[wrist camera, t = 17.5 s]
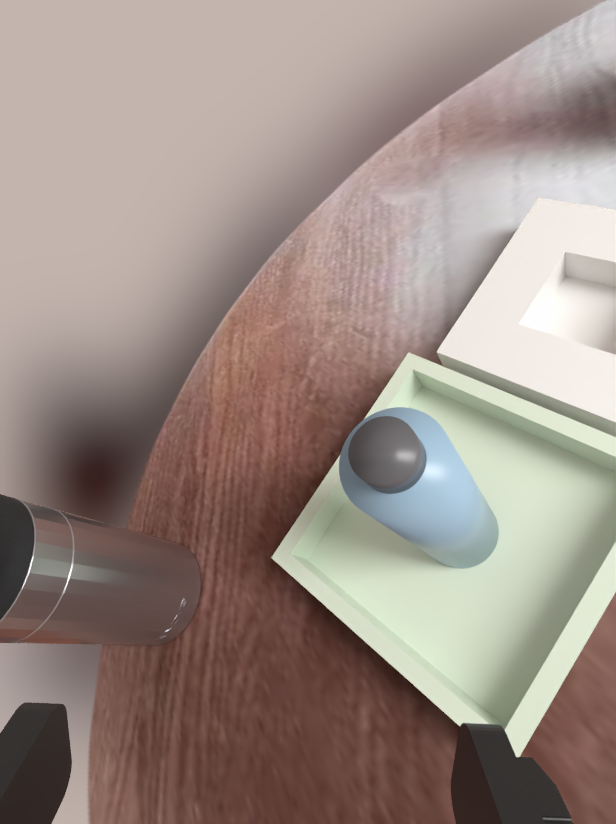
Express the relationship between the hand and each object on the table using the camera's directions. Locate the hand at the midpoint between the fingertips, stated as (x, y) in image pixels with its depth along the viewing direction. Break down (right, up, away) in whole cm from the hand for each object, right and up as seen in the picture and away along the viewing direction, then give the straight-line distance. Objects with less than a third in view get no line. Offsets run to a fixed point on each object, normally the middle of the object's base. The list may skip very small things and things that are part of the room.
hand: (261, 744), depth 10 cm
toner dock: (+23, +13, +28) cm, 39 cm away
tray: (+12, -2, +27) cm, 29 cm away
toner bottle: (+12, -2, +26) cm, 29 cm away
